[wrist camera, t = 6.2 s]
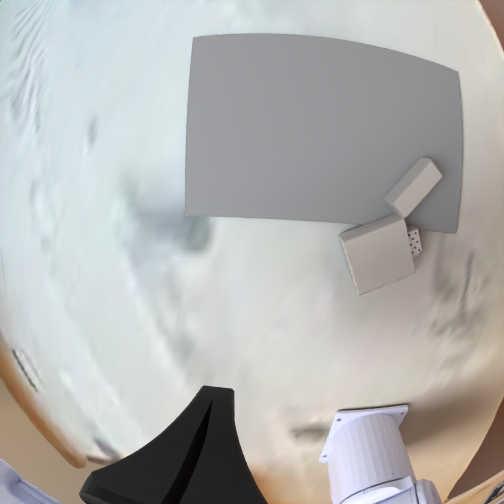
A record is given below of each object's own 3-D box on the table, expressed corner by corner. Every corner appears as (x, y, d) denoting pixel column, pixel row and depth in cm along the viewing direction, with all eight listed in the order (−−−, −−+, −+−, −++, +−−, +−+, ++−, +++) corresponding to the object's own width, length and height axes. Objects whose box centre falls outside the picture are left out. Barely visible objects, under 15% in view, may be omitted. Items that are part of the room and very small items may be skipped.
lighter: (354, 284, 20) (445, 246, 18) (359, 296, 18) (456, 254, 16) (323, 192, 18) (426, 155, 16) (328, 197, 16) (439, 157, 14)
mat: (453, 232, 18) (455, 233, 18) (187, 214, 19) (185, 215, 19) (455, 72, 14) (457, 71, 14) (194, 39, 16) (193, 37, 15)
